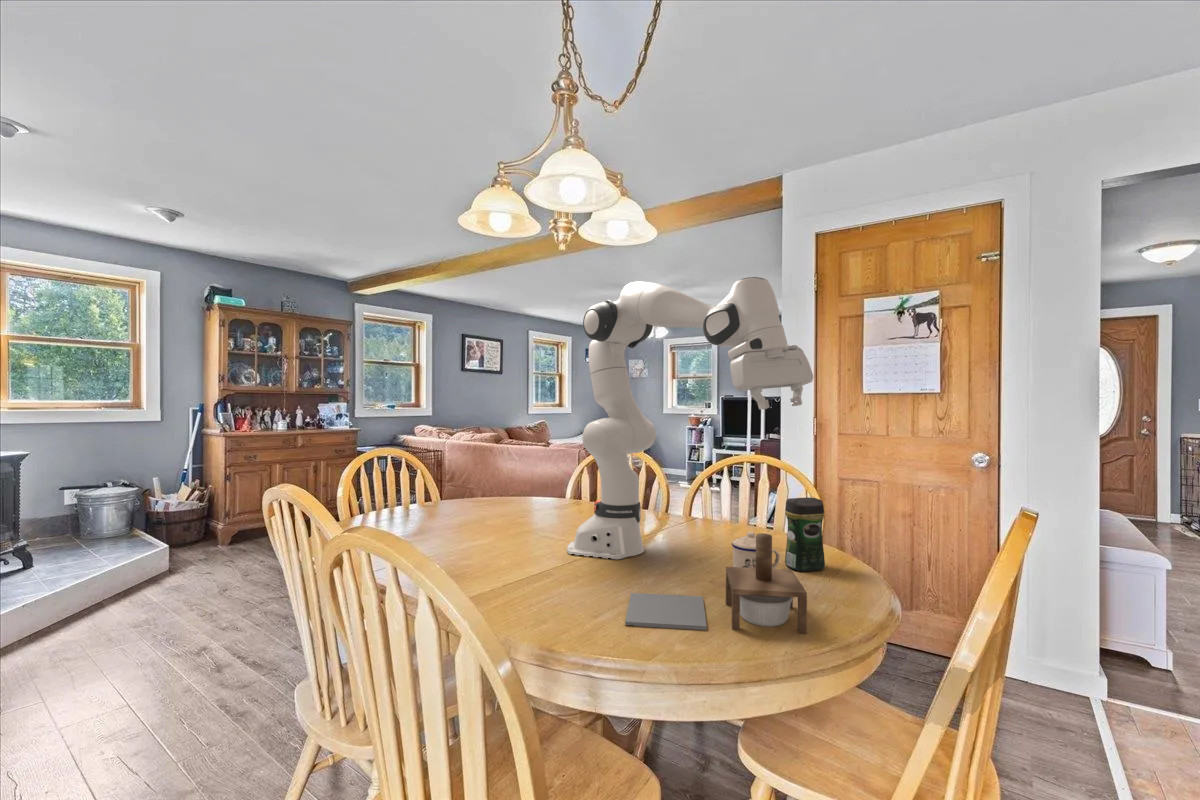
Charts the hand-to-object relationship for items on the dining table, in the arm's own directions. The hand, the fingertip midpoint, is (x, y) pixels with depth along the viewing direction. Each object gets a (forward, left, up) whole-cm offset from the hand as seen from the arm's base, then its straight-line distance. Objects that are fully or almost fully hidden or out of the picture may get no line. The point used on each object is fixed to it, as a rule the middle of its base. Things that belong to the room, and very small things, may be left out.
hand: (781, 407), depth 120 cm
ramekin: (-4, -6, -44) cm, 44 cm away
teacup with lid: (-2, +18, -44) cm, 47 cm away
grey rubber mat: (-24, -6, -43) cm, 50 cm away
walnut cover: (-4, -6, -43) cm, 44 cm away
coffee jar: (+12, +29, -44) cm, 53 cm away
